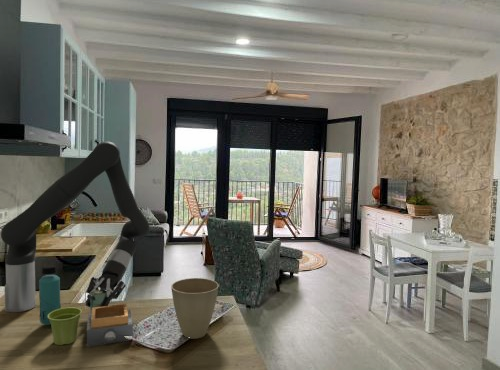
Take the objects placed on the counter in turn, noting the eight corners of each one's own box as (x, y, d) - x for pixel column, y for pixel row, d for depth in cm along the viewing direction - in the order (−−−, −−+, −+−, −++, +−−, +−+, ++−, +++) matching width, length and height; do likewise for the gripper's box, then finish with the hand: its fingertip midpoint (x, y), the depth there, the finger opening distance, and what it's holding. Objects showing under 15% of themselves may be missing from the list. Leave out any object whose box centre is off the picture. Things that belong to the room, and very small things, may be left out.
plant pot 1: (89, 336, 120) (88, 309, 120) (65, 350, 111) (64, 321, 111) (65, 332, 123) (65, 305, 123) (40, 345, 114) (40, 316, 114)
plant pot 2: (177, 348, 113) (177, 295, 112) (166, 328, 127) (166, 280, 126) (225, 339, 119) (225, 289, 118) (209, 321, 133) (210, 275, 132)
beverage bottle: (65, 321, 131) (64, 263, 130) (53, 329, 125) (52, 269, 123) (47, 320, 132) (46, 263, 131) (34, 328, 125) (33, 268, 124)
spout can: (98, 313, 138) (97, 286, 137) (110, 316, 136) (110, 288, 135) (82, 322, 131) (81, 293, 130) (95, 324, 129) (94, 295, 128)
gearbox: (86, 349, 112) (86, 324, 112) (88, 329, 125) (88, 307, 125) (133, 342, 117) (132, 318, 116) (130, 324, 130) (130, 302, 129)
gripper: (96, 257, 143) (72, 299, 132) (129, 261, 138) (106, 305, 127) (106, 267, 148) (84, 309, 137) (138, 271, 143) (117, 315, 133)
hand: (95, 307), depth 132 cm, fingers closed on spout can, 5 cm apart
